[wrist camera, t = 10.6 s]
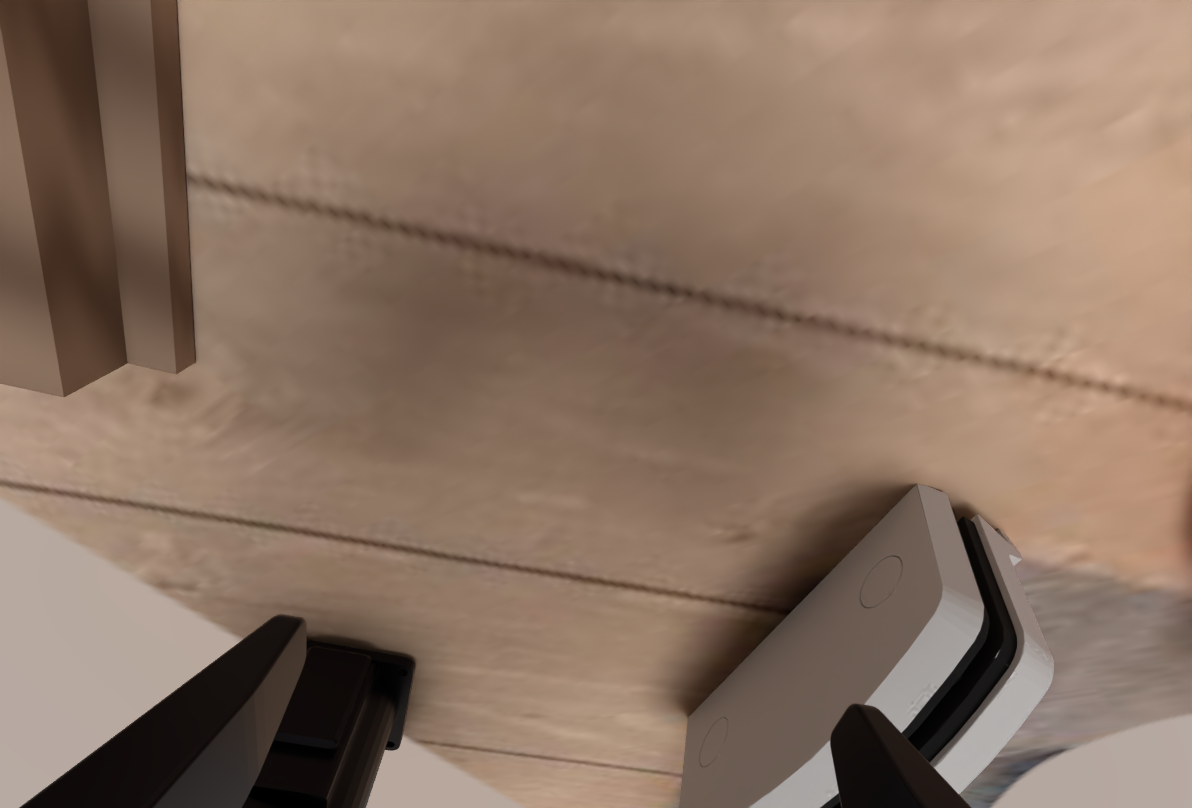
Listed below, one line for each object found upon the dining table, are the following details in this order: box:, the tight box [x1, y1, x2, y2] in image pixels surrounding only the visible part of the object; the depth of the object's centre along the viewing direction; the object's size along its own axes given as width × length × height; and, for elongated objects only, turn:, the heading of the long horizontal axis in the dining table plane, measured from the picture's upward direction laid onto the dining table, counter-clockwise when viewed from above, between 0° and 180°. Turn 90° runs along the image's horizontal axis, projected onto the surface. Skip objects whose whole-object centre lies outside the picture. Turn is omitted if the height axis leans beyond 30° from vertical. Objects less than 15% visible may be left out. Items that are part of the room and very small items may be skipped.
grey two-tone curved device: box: [679, 484, 1054, 808], centre depth 22 cm, size 17×5×10 cm, turn 151°
